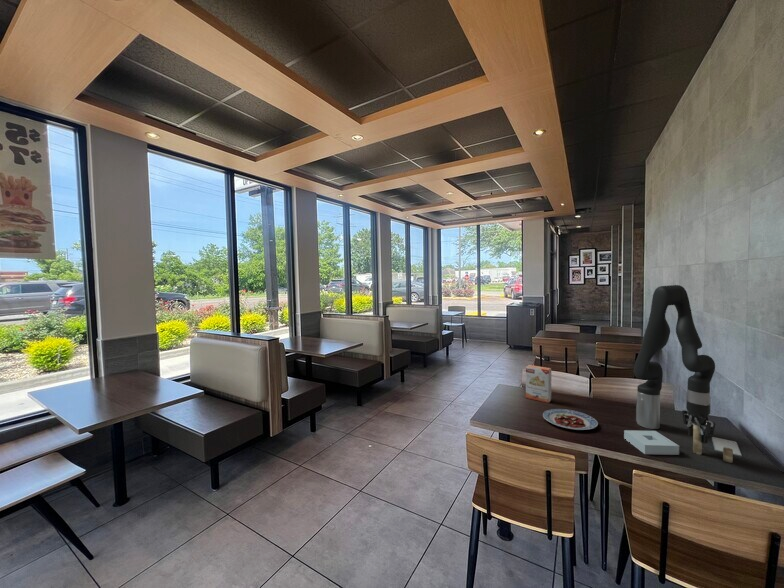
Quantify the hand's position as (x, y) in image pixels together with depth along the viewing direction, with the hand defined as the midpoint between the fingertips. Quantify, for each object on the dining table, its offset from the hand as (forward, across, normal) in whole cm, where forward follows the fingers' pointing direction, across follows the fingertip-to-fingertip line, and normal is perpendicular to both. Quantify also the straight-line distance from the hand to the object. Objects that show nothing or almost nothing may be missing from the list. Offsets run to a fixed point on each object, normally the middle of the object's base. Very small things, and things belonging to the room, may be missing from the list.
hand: (697, 439), depth 141 cm
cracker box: (+6, -63, -44) cm, 77 cm away
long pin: (+6, 0, 0) cm, 6 cm away
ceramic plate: (+6, -30, -40) cm, 50 cm away
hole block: (+6, -5, -16) cm, 18 cm away
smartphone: (+7, -6, +17) cm, 19 cm away
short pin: (+6, +6, +7) cm, 11 cm away
